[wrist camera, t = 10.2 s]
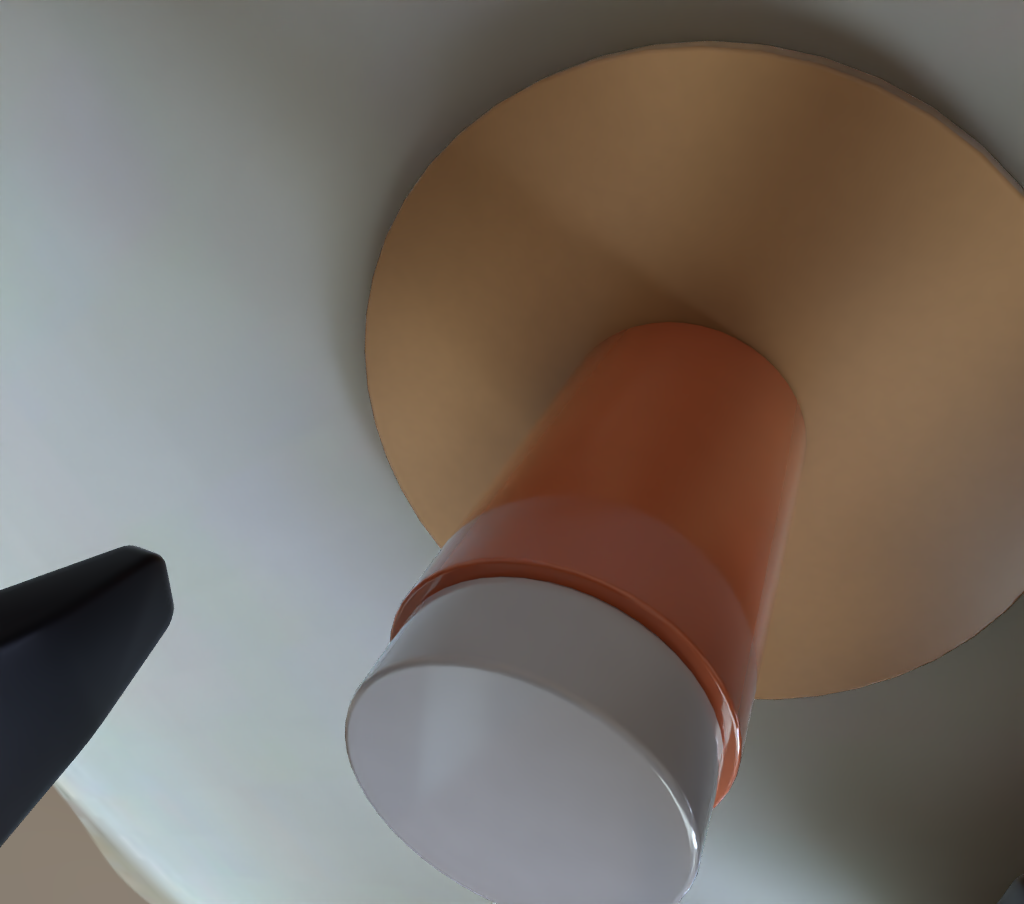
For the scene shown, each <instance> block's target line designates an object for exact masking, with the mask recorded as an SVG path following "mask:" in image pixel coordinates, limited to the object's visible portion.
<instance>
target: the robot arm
mask: <svg viewBox="0 0 1024 904" xmlns="http://www.w3.org/2000/svg"><path fill="white" fill-rule="evenodd" d="M173 611H174V604H173V598H172V593H171V588H170V583H169V578H168V573H167V568H166V564H165V561H164V559H163V558H162V557H161V556H160V555H158V554H156V553H153V552H151V551H148V550H145V549H143V548H140V547H137V546H130V545H129V546H123V547H120V548H117V549H114V550H111V551H108V552H106V553H103V554H100V555H97V556H94V557H92V558H89V559H86V560H83V561H81V562H78V563H75V564H72V565H69V566H67V567H64V568H61V569H58V570H55V571H53V572H50V573H47V574H44V575H41V576H39V577H36V578H33V579H30V580H27V581H25V582H22V583H19V584H16V585H13V586H11V587H8V588H5V589H2V590H0V847H1V846H2V845H3V843H4V842H5V841H6V840H7V839H8V837H9V836H10V835H11V834H12V833H13V831H14V830H15V829H16V828H17V827H18V826H19V824H20V823H21V822H22V821H23V820H24V818H25V817H26V816H27V815H28V813H29V812H30V811H31V810H32V809H33V808H34V806H35V805H36V804H37V803H38V802H39V800H40V799H41V798H42V797H43V796H44V794H45V793H46V792H47V791H48V790H49V789H50V787H51V786H52V785H53V784H54V783H55V781H56V780H57V779H58V778H59V777H60V775H61V774H62V773H63V772H64V771H65V769H66V768H67V767H68V766H69V765H70V763H71V762H72V761H73V760H74V759H75V758H76V756H77V755H78V754H79V753H80V751H81V750H82V749H83V748H84V746H85V745H86V744H87V743H88V741H89V740H90V739H91V738H92V736H93V735H94V733H95V732H96V731H97V729H98V728H99V727H100V725H101V724H102V722H103V721H104V720H105V718H106V717H107V715H108V714H109V712H110V711H111V710H112V708H113V707H114V705H115V704H116V702H117V701H118V699H119V698H120V696H121V695H122V694H123V692H124V691H125V689H126V688H127V686H128V685H129V683H130V682H131V680H132V679H133V678H134V676H135V675H136V673H137V672H138V670H139V669H140V667H141V666H142V664H143V663H144V661H145V660H146V659H147V657H148V656H149V654H150V653H151V651H152V650H153V648H154V647H155V645H156V644H157V643H158V641H159V640H160V638H161V637H162V635H163V634H164V632H165V631H166V629H167V628H168V626H169V624H170V622H171V619H172V616H173ZM997 904H1024V875H1021V876H1019V877H1017V878H1016V879H1015V880H1014V881H1013V883H1012V884H1011V885H1010V887H1009V888H1008V889H1007V891H1006V892H1005V893H1004V895H1003V896H1002V898H1001V899H1000V900H999V902H998V903H997Z"/></svg>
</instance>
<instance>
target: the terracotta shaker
mask: <svg viewBox="0 0 1024 904" xmlns="http://www.w3.org/2000/svg"><path fill="white" fill-rule="evenodd" d="M806 448H807V438H806V427H805V423H804V419H803V415H802V411H801V409H800V406H799V404H798V401H797V399H796V397H795V395H794V393H793V392H792V390H791V388H790V387H789V385H788V383H787V382H786V381H785V379H784V378H783V377H782V375H781V374H780V373H779V372H778V370H777V369H776V368H775V367H774V366H773V365H772V364H771V363H770V362H769V361H768V360H767V359H766V358H765V357H763V356H762V355H761V354H759V353H758V352H757V351H755V350H754V349H753V348H752V347H750V346H748V345H747V344H745V343H743V342H742V341H740V340H738V339H736V338H734V337H732V336H730V335H728V334H725V333H723V332H721V331H718V330H715V329H711V328H708V327H705V326H700V325H695V324H689V323H677V322H661V323H650V324H645V325H640V326H635V327H632V328H629V329H626V330H624V331H621V332H619V333H617V334H615V335H613V336H611V337H609V338H607V339H605V340H604V341H602V342H601V343H600V344H598V345H597V346H595V347H594V348H593V349H592V350H591V351H590V352H589V353H588V354H587V355H586V356H585V357H584V358H583V359H582V360H581V362H580V363H579V364H578V365H577V367H576V368H575V369H574V371H573V372H572V373H571V375H570V376H569V377H568V379H567V380H566V382H565V383H564V384H563V386H562V387H561V388H560V390H559V391H558V392H557V394H556V395H555V396H554V398H553V399H552V400H551V402H550V403H549V404H548V406H547V407H546V408H545V410H544V411H543V412H542V414H541V415H540V417H539V418H538V419H537V421H536V422H535V423H534V425H533V426H532V427H531V429H530V430H529V431H528V433H527V434H526V435H525V437H524V438H523V439H522V441H521V442H520V443H519V445H518V446H517V447H516V449H515V450H514V451H513V453H512V454H511V456H510V457H509V458H508V460H507V461H506V462H505V464H504V465H503V466H502V468H501V469H500V470H499V472H498V473H497V474H496V476H495V477H494V478H493V480H492V481H491V482H490V484H489V485H488V486H487V488H486V489H485V491H484V492H483V493H482V495H481V496H480V497H479V499H478V500H477V501H476V503H475V504H474V505H473V507H472V508H471V509H470V511H469V512H468V513H467V515H466V516H465V517H464V519H463V520H462V521H461V523H460V524H459V526H458V527H457V528H456V530H455V531H454V532H453V534H452V535H451V536H450V538H449V539H448V540H447V542H446V543H445V544H444V546H443V547H442V548H441V550H440V551H439V552H438V554H437V555H436V556H435V558H434V559H433V560H432V562H431V563H430V565H429V566H428V567H427V569H426V570H425V571H424V573H423V574H422V575H421V577H420V578H419V579H418V581H417V582H416V583H415V585H414V586H413V587H412V589H411V590H410V591H409V593H408V594H407V595H406V597H405V598H404V600H403V601H402V603H401V605H400V607H399V609H398V611H397V613H396V615H395V618H394V622H393V625H392V629H391V637H390V644H389V645H388V647H387V648H386V649H385V651H384V652H383V654H382V655H381V656H380V658H379V659H378V660H377V662H376V663H375V665H374V666H373V667H372V669H371V670H370V672H369V673H368V674H367V676H366V677H365V679H364V680H363V681H362V683H361V684H360V686H359V687H358V688H357V690H356V692H355V694H354V696H353V698H352V700H351V702H350V705H349V709H348V713H347V717H346V724H345V741H346V749H347V754H348V757H349V761H350V764H351V768H352V770H353V772H354V774H355V777H356V779H357V781H358V783H359V785H360V787H361V789H362V790H363V792H364V794H365V796H366V797H367V799H368V801H369V802H370V803H371V805H372V806H373V808H374V809H375V810H376V812H377V813H378V815H379V816H380V817H381V818H382V819H383V820H384V822H385V823H386V824H387V825H388V826H389V828H390V829H391V830H392V831H393V832H394V833H395V834H396V835H397V836H398V837H399V838H400V839H401V840H402V841H403V842H404V843H405V844H406V845H407V846H408V847H410V848H411V849H412V850H413V851H414V852H415V853H416V854H418V855H419V856H420V857H421V858H422V859H424V860H425V861H426V862H428V863H429V864H430V865H432V866H433V867H434V868H435V869H437V870H438V871H440V872H441V873H443V874H444V875H446V876H447V877H449V878H450V879H452V880H453V881H455V882H456V883H458V884H460V885H461V886H463V887H465V888H467V889H468V890H470V891H472V892H474V893H475V894H477V895H479V896H482V897H484V898H486V899H488V900H490V901H492V902H494V903H496V904H678V902H679V901H680V900H681V899H682V898H683V897H684V895H685V894H686V893H687V892H688V891H689V889H690V888H691V886H692V884H693V882H694V880H695V878H696V876H697V874H698V870H699V866H700V861H701V857H702V853H703V849H704V844H705V840H706V836H707V831H708V827H709V823H710V819H711V814H712V810H713V808H715V807H716V806H717V805H718V804H719V803H720V802H721V801H722V799H723V798H724V797H725V795H726V794H727V793H728V792H729V790H730V789H731V787H732V785H733V783H734V781H735V779H736V777H737V774H738V770H739V766H740V762H741V758H742V753H743V749H744V744H745V739H746V735H747V730H748V725H749V721H750V716H751V711H752V707H753V702H754V697H755V693H756V688H757V683H758V679H759V674H760V669H761V665H762V660H763V655H764V651H765V646H766V641H767V636H768V632H769V627H770V622H771V618H772V613H773V608H774V604H775V599H776V594H777V590H778V585H779V580H780V576H781V571H782V566H783V562H784V557H785V552H786V548H787V543H788V538H789V534H790V529H791V524H792V520H793V515H794V510H795V506H796V501H797V496H798V492H799V487H800V482H801V477H802V473H803V468H804V463H805V459H806Z"/></svg>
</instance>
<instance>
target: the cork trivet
mask: <svg viewBox="0 0 1024 904" xmlns="http://www.w3.org/2000/svg"><path fill="white" fill-rule="evenodd" d="M661 322H677V323H689V324H695V325H700V326H705V327H708V328H711V329H715V330H718V331H721V332H723V333H725V334H728V335H730V336H732V337H734V338H736V339H738V340H740V341H742V342H743V343H745V344H747V345H748V346H750V347H752V348H753V349H754V350H755V351H757V352H758V353H759V354H761V355H762V356H763V357H765V358H766V359H767V360H768V361H769V362H770V363H771V364H772V365H773V366H774V367H775V368H776V369H777V370H778V372H779V373H780V374H781V375H782V377H783V378H784V379H785V381H786V382H787V383H788V385H789V387H790V388H791V390H792V392H793V393H794V395H795V397H796V399H797V401H798V404H799V406H800V409H801V411H802V415H803V419H804V423H805V427H806V438H807V448H806V459H805V463H804V468H803V473H802V477H801V482H800V487H799V492H798V496H797V501H796V506H795V510H794V515H793V520H792V524H791V529H790V534H789V538H788V543H787V548H786V552H785V557H784V562H783V566H782V571H781V576H780V580H779V585H778V590H777V594H776V599H775V604H774V608H773V613H772V618H771V622H770V627H769V632H768V636H767V641H766V646H765V651H764V655H763V660H762V665H761V669H760V674H759V679H758V683H757V688H756V693H755V697H754V699H772V700H779V699H791V698H803V697H815V696H822V695H827V694H833V693H838V692H843V691H848V690H854V689H859V688H862V687H865V686H869V685H872V684H875V683H878V682H882V681H885V680H888V679H891V678H895V677H898V676H900V675H903V674H905V673H907V672H909V671H912V670H914V669H916V668H918V667H921V666H923V665H925V664H928V663H930V662H932V661H934V660H937V659H938V658H940V657H942V656H943V655H945V654H947V653H948V652H950V651H952V650H953V649H955V648H957V647H958V646H960V645H962V644H963V643H965V642H967V641H968V640H970V639H972V638H973V637H975V636H976V635H977V634H978V633H980V632H981V631H982V630H983V629H985V628H986V627H987V626H988V625H990V624H991V623H992V622H993V621H995V620H996V619H997V618H998V617H1000V616H1001V615H1002V614H1003V613H1005V612H1006V611H1007V610H1008V609H1009V608H1010V607H1011V606H1012V605H1013V604H1014V603H1015V602H1016V601H1017V599H1018V598H1019V597H1020V596H1021V595H1022V594H1023V593H1024V190H1023V188H1022V187H1021V186H1020V185H1019V184H1018V183H1017V182H1016V181H1015V180H1014V178H1013V177H1012V176H1011V175H1010V174H1009V173H1008V172H1007V171H1006V170H1005V169H1004V168H1003V167H1002V166H1001V165H1000V164H999V163H998V162H997V161H996V159H995V158H994V157H993V156H992V155H991V154H990V153H989V152H988V151H987V150H986V149H985V148H984V147H983V146H982V145H981V144H980V143H979V142H977V141H976V140H975V139H974V138H972V137H971V136H970V135H968V134H967V133H966V132H964V131H963V130H962V129H961V128H959V127H958V126H957V125H955V124H954V123H953V122H952V121H950V120H949V119H948V118H946V117H945V116H944V115H942V114H941V113H940V112H939V111H937V110H936V109H935V108H933V107H931V106H930V105H928V104H926V103H924V102H922V101H921V100H919V99H917V98H915V97H913V96H912V95H910V94H908V93H906V92H904V91H903V90H901V89H899V88H897V87H895V86H894V85H892V84H890V83H888V82H886V81H885V80H883V79H881V78H878V77H875V76H873V75H870V74H867V73H865V72H862V71H860V70H857V69H854V68H852V67H849V66H846V65H844V64H841V63H838V62H836V61H833V60H830V59H828V58H825V57H820V56H816V55H811V54H807V53H802V52H798V51H793V50H789V49H784V48H779V47H775V46H770V45H763V44H750V43H736V42H722V41H696V42H682V43H668V44H654V45H649V46H644V47H640V48H635V49H630V50H626V51H621V52H617V53H612V54H608V55H603V56H599V57H597V58H594V59H591V60H589V61H586V62H583V63H581V64H578V65H575V66H573V67H570V68H568V69H565V70H562V71H560V72H557V73H554V74H552V75H550V76H548V77H546V78H543V79H541V80H539V81H538V82H536V83H534V84H532V85H530V86H529V87H527V88H525V89H523V90H521V91H520V92H518V93H516V94H514V95H512V96H511V97H509V98H507V99H505V100H503V101H502V102H500V103H498V104H497V105H495V106H494V107H493V108H491V109H490V110H489V111H487V112H486V113H485V114H484V115H482V116H481V117H480V118H478V119H477V120H476V121H474V122H473V123H472V124H471V125H469V126H468V127H467V128H465V129H464V130H463V131H462V132H460V133H459V134H458V135H457V136H456V137H455V138H454V139H453V140H452V142H451V143H450V144H449V145H448V146H447V147H446V148H445V149H444V150H443V151H442V152H441V153H440V154H439V155H438V156H437V157H436V158H435V159H434V160H433V161H432V162H431V163H430V165H429V166H428V167H427V169H426V170H425V171H424V173H423V174H422V176H421V177H420V179H419V180H418V181H417V183H416V184H415V186H414V187H413V188H412V190H411V191H410V193H409V194H408V196H407V197H406V198H405V200H404V202H403V204H402V206H401V208H400V210H399V212H398V214H397V216H396V218H395V220H394V222H393V224H392V226H391V228H390V230H389V232H388V234H387V236H386V238H385V241H384V244H383V247H382V250H381V253H380V256H379V259H378V262H377V265H376V268H375V271H374V274H373V279H372V285H371V290H370V295H369V301H368V306H367V312H366V330H365V362H366V374H367V386H368V392H369V396H370V401H371V406H372V411H373V416H374V420H375V424H376V427H377V430H378V433H379V436H380V439H381V442H382V445H383V448H384V451H385V454H386V457H387V459H388V462H389V464H390V466H391V468H392V470H393V472H394V475H395V477H396V479H397V481H398V483H399V485H400V488H401V490H402V491H403V493H404V495H405V497H406V498H407V500H408V502H409V503H410V505H411V507H412V508H413V510H414V512H415V513H416V515H417V517H418V518H419V520H420V522H421V523H422V524H423V526H424V527H425V528H426V530H427V531H428V532H429V534H430V535H431V536H432V538H433V539H434V540H435V542H436V543H437V544H438V546H439V547H440V548H442V547H443V546H444V544H445V543H446V542H447V540H448V539H449V538H450V536H451V535H452V534H453V532H454V531H455V530H456V528H457V527H458V526H459V524H460V523H461V521H462V520H463V519H464V517H465V516H466V515H467V513H468V512H469V511H470V509H471V508H472V507H473V505H474V504H475V503H476V501H477V500H478V499H479V497H480V496H481V495H482V493H483V492H484V491H485V489H486V488H487V486H488V485H489V484H490V482H491V481H492V480H493V478H494V477H495V476H496V474H497V473H498V472H499V470H500V469H501V468H502V466H503V465H504V464H505V462H506V461H507V460H508V458H509V457H510V456H511V454H512V453H513V451H514V450H515V449H516V447H517V446H518V445H519V443H520V442H521V441H522V439H523V438H524V437H525V435H526V434H527V433H528V431H529V430H530V429H531V427H532V426H533V425H534V423H535V422H536V421H537V419H538V418H539V417H540V415H541V414H542V412H543V411H544V410H545V408H546V407H547V406H548V404H549V403H550V402H551V400H552V399H553V398H554V396H555V395H556V394H557V392H558V391H559V390H560V388H561V387H562V386H563V384H564V383H565V382H566V380H567V379H568V377H569V376H570V375H571V373H572V372H573V371H574V369H575V368H576V367H577V365H578V364H579V363H580V362H581V360H582V359H583V358H584V357H585V356H586V355H587V354H588V353H589V352H590V351H591V350H592V349H593V348H594V347H595V346H597V345H598V344H600V343H601V342H602V341H604V340H605V339H607V338H609V337H611V336H613V335H615V334H617V333H619V332H621V331H624V330H626V329H629V328H632V327H635V326H640V325H645V324H650V323H661Z"/></svg>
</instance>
